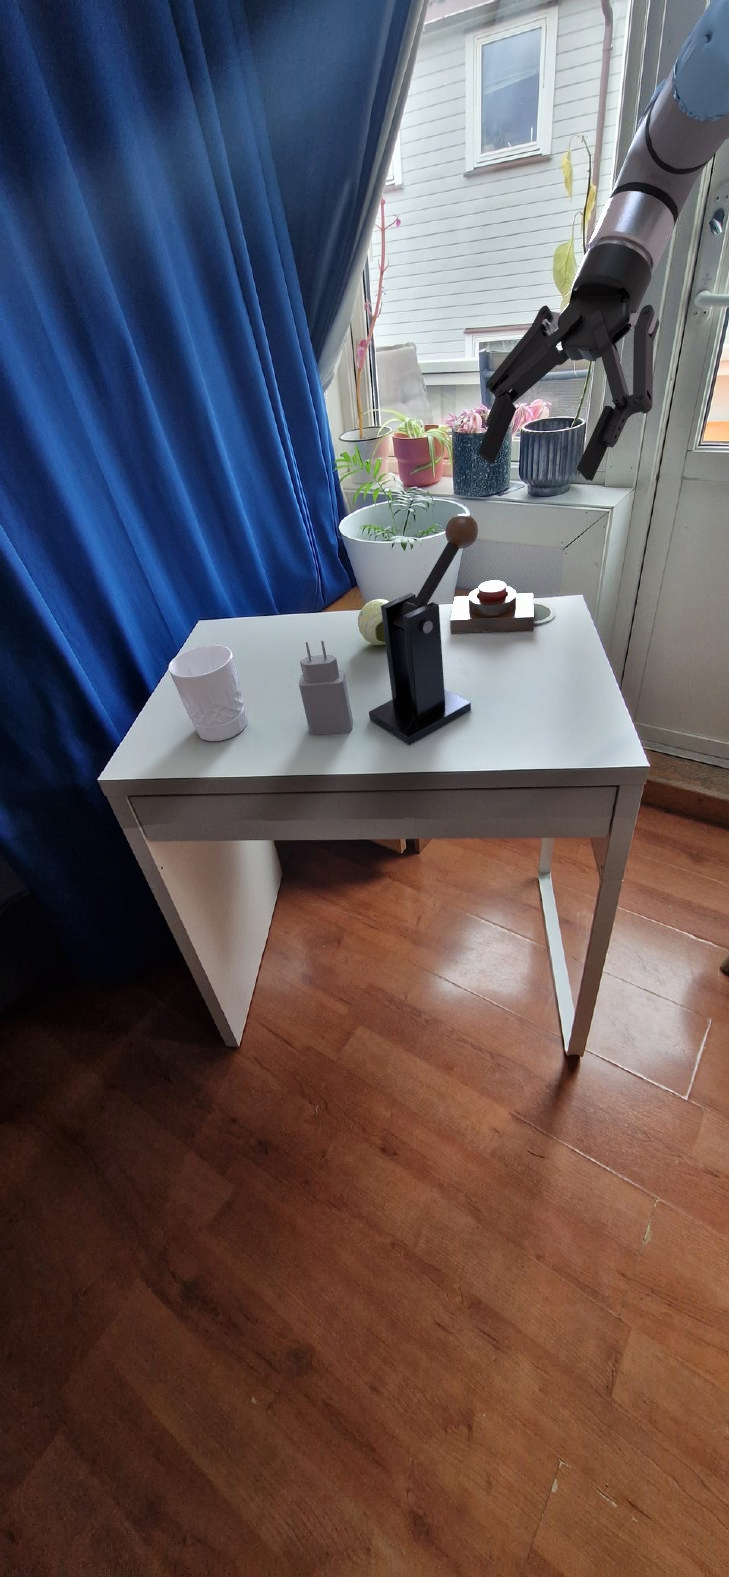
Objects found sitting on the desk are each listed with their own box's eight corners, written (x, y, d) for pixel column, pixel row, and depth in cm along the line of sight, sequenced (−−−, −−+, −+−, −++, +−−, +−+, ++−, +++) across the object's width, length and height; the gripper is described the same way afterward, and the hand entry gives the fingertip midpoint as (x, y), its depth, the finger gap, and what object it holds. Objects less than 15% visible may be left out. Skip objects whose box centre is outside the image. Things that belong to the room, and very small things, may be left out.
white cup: (257, 708, 88) (238, 642, 82) (243, 743, 82) (222, 674, 76) (202, 712, 90) (179, 646, 83) (185, 746, 84) (159, 679, 77)
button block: (533, 606, 101) (533, 581, 98) (533, 630, 95) (534, 605, 92) (455, 609, 103) (453, 585, 101) (450, 633, 97) (449, 608, 95)
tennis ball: (359, 636, 101) (353, 595, 97) (402, 629, 101) (398, 588, 96) (362, 655, 96) (356, 613, 92) (407, 649, 96) (403, 606, 91)
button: (506, 591, 98) (506, 579, 97) (505, 602, 95) (505, 591, 94) (479, 592, 99) (479, 581, 98) (478, 604, 96) (477, 592, 95)
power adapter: (312, 721, 84) (293, 637, 77) (353, 718, 83) (338, 633, 76) (308, 735, 82) (289, 649, 74) (351, 732, 81) (335, 645, 73)
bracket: (429, 687, 87) (420, 580, 77) (471, 710, 81) (467, 598, 72) (369, 719, 83) (352, 610, 73) (409, 745, 77) (396, 631, 68)
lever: (467, 522, 74) (450, 504, 72) (490, 528, 72) (473, 510, 69) (403, 632, 76) (385, 619, 74) (423, 642, 74) (405, 628, 71)
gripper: (746, 284, 64) (644, 498, 69) (537, 289, 79) (465, 465, 84) (730, 228, 59) (620, 466, 64) (508, 246, 74) (433, 438, 79)
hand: (532, 466), depth 74 cm, fingers open, 13 cm apart
